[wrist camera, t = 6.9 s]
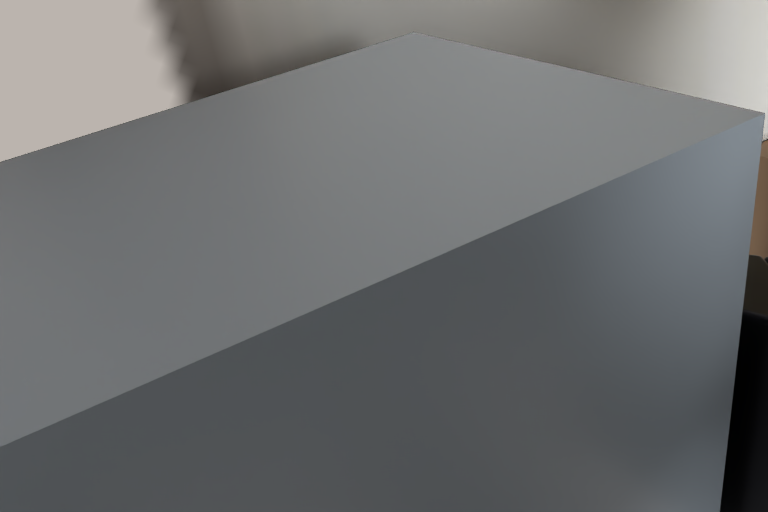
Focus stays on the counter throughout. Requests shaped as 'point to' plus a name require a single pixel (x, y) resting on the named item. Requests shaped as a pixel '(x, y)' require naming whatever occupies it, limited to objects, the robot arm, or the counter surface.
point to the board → (761, 208)
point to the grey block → (380, 295)
